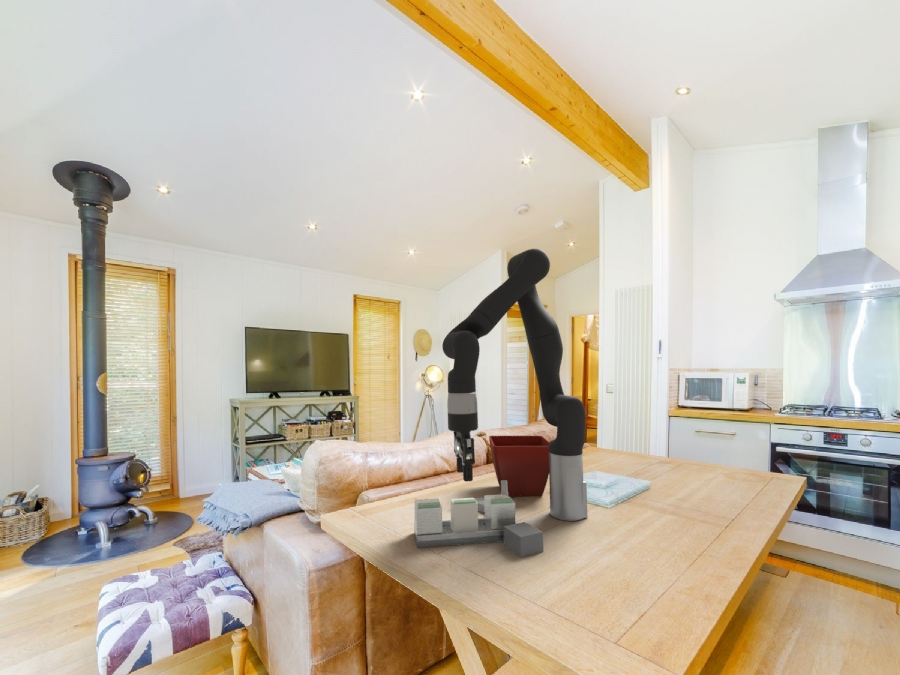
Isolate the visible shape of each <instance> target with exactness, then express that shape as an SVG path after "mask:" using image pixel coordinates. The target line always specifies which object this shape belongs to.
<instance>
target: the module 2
mask: <svg viewBox="0 0 900 675" xmlns="http://www.w3.org/2000/svg"><path fill="white" fill-rule="evenodd" d="M503 545H505V546H504V547H506V548H507V547H508V549H509V550H510V551H512V552H513V553H514V554H516V555H517V556H519V557H520V558H525V557H527V556H528V557H529V556H533V555H536V554H541V553H544V531H541V530H539V528H536V527H535V526H533V525H531V524H530V523H527V522H525V521H524V522H518V523H515V524H512V525H507V526H504V541H503Z"/></svg>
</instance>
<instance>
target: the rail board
mask: <svg viewBox="0 0 900 675" xmlns="http://www.w3.org/2000/svg"><path fill="white" fill-rule="evenodd" d="M483 498H484V511H485V513H484V517H478V531H477V532H464V533H453V532H452V529H451V519H449V520H447V519H446V520H443V506H442V504H441V502H440V499H439V497H437V498H422V499H414V524H413V525H414V528H413V529H414V538H415V544H416V548H417V549H422V548H424V549H425V548H436V547H435V546H438V547H447V546H446V545H450V546H459V545H458V544H463V545H471V544H470V543H476V544H483V543H482V542H489V543H498V542H497V541H501V542H504V526H507V525H512V524H516V502H515V501H514V499H513V498H512V497H509V496H508V495H507V494H501V493H500V494H488V495H487V494H486V495H483Z"/></svg>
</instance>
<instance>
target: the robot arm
mask: <svg viewBox="0 0 900 675" xmlns="http://www.w3.org/2000/svg"><path fill="white" fill-rule="evenodd" d="M550 267H551V262H550V258H549V256H548V254H547V253H546V252H545V251H544V250H543V249H540V248H530V249H526V250H524V251H522V252H519V253H518V254H516V255H514V256H511V258H510V259H509V260H508V263H507V267H506V268H507V269H506V270H507V276H508V278H507V279H506V280H505V281H504V282H503V283H501V285H500V286H498V287H497V288H495V289H494V290H493V291H492V292H491V293H489V294H488V295H487V296H486V297H484V299H482V300H481V301H480V302H479V304H478V305H477V306H476V307H475V308H474V309H473V310H472V311H471V312H470V314H469V315H468V316H467V317H466V318H465V319H463V320H462V321H461V322H459V323H458V324H457V325H456V326H454V327H453V329H451V330H450V331H449V332H448V333H447V334H446V336H445V337H444V339H443V341H442V344H441V345H442V352H443V354H444V355H445V356H446V357H447V358H450V359H452V360H453V368H452V369H451V370H450V371H448V373H447V392H448V393H447V429H448V430H449V432H453V448H454V449H453V451H454V454H455V455H454V456H455V457H456V472H457V473H462V476H463V478H462V480H463V481H464V482H473V480H474V478H473V476H474V473H473V469H474V468H473V466H474V465H475V464H476V458H475V453H476V452H475V439H474V437H471V432H473V431H477V430H478V428H479V422H478V421H479V416H478V399H477V393H476V392H477V389H476V387H477V386H476V383H477V382H476V373H477V370H478V366H479V365H478V364H479V358H480V350H481V349H480V342H479V339H481V338H483V337H485V336H487V335H489V333H490V332H491V331H492V330H494V328H495V327H496V325H498V323H500V321H501V320H502V319H503V317H504V316H505V315H506V314H507V313H508V312H509V311H510V309H511V308H512V307H514V305H516V303H517V305H518V309H519V312H520V316H521V320H522V323H523V326H524V331H525V335H526V336H525V337H526V341H527V345H528V348H529V352H530V356H531V360H532V362H533V363H532V364H533V368H534V372H535V376H536V381H537V385H538V390H539V399H540V405H541V412H542V416H543V417H544V420H545V421H546V422H547V424H549V425H550V426H553V427H555V428H556V437H555V438H554V439H552V440H550V441H549V476H548V479H549V509H550V511H549V512H550V516H551V517H553V518H554V519H557V520H561V521H568V522H571V521H573V522H575V521H580V520H583V519H586V518H588V491H587V488H588V487H587V482H586V481H585V480H584V461H583V460H584V458H583V457H584V456H583V455H584V454H583V448H584V446H585V443H586V423H587V422H586V421H587V420H586V409H585V405H584V404H583V403H584V402H582V400H581V399H580V398H579V397H576V396H571V395H565V394H564V390H563V386H562V382H561V378H560V377H561V375H560V370H561V366H562V360H563V354H564V348H563V342H562V337H561V333H560V330H559V326H558V324H557V321H556V320H555V319H554V317H553V316H552V314H551V313H550V312H549V311H548V310H547V309H546V307H545V306H544V305H543V303H542V301H541V299H540V297H539V294H538V290H537V286H536V285H537V284H538V283H540V282H541V281H543V279H545V278H546V276H547V275H548V274H549V272H550Z"/></svg>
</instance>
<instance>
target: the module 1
mask: <svg viewBox="0 0 900 675" xmlns="http://www.w3.org/2000/svg"><path fill="white" fill-rule="evenodd" d="M478 518H479V511H478V503H477V501H476V500H475V497H466V498H465V497H463V498H461V497H460V498H451V499H450V520H451V529H452V532H453V533H464V532H477V531H478Z"/></svg>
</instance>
